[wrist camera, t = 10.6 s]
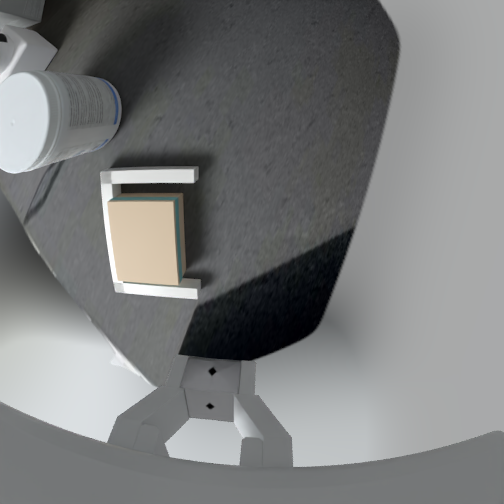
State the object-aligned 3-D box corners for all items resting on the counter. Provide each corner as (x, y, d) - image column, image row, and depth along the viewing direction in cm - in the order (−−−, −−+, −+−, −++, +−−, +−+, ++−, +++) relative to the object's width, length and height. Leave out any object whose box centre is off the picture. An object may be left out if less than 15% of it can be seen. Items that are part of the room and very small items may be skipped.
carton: (122, 192, 36) (106, 201, 32) (183, 192, 36) (173, 201, 32) (130, 265, 40) (117, 281, 36) (187, 268, 40) (178, 285, 36)
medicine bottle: (10, 71, 28) (-47, 70, 17) (35, 30, 26) (-21, 18, 15) (32, 92, 30) (-29, 94, 19) (59, 49, 28) (0, 38, 17)
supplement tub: (80, 70, 29) (2, 58, 16) (137, 92, 31) (67, 80, 17) (53, 137, 33) (-25, 155, 19) (106, 164, 34) (32, 191, 21)
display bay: (109, 168, 35) (100, 171, 32) (198, 166, 34) (193, 169, 32) (122, 283, 41) (115, 292, 39) (201, 289, 41) (197, 299, 38)
